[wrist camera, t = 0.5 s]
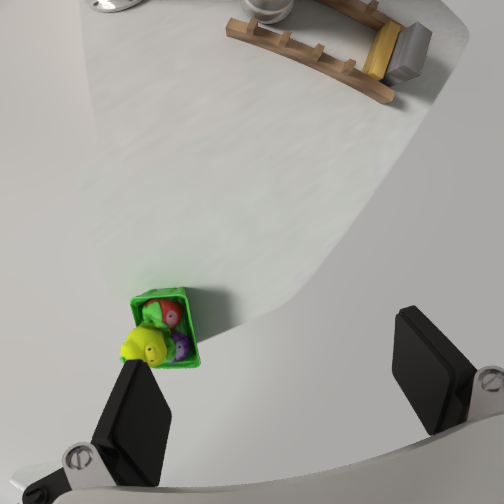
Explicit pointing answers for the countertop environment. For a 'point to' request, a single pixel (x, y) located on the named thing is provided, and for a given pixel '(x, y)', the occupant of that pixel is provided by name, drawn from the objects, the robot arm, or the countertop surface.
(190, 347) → the fruit basket
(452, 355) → the robot arm
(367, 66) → the wooden peg rack
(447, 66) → the countertop surface
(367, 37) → the countertop surface
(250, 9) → the grey bulging hollow cylinder
